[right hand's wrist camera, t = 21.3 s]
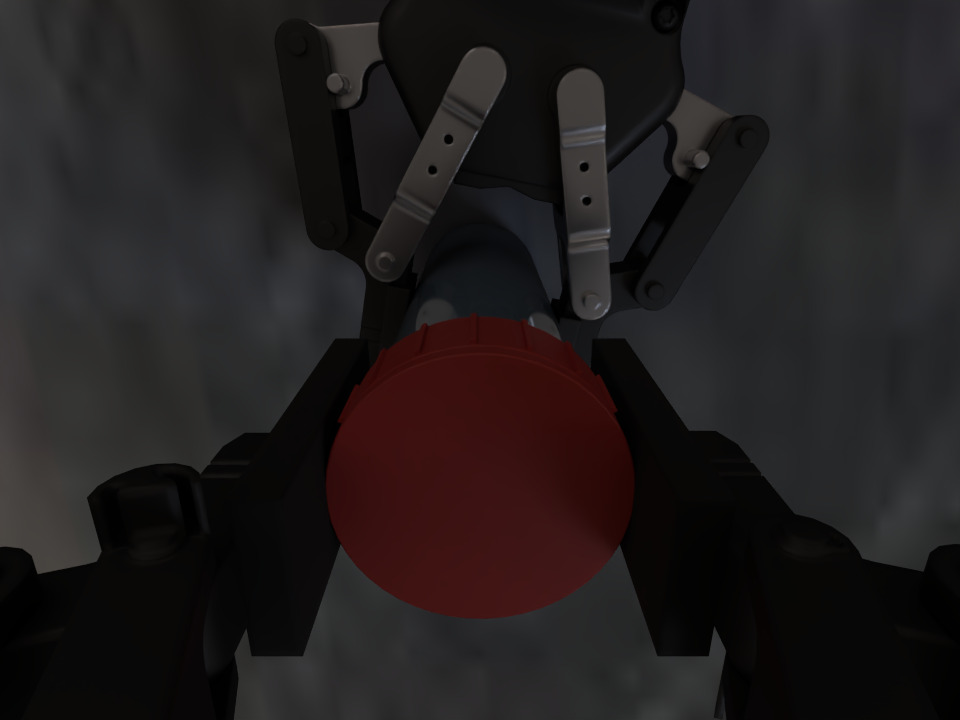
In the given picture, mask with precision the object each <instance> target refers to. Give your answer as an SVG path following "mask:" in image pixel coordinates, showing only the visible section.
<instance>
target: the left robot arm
mask: <svg viewBox="0 0 960 720" xmlns="http://www.w3.org/2000/svg"><path fill="white" fill-rule="evenodd" d="M689 1H690V0H390V2H389V3H388V4H387V6H386V7H385V9H384V11H383V13H382V15H381V18H380V21H379V22H377V23H364V24H352V25H339V26H327V27H317V26H315V25H313V24H311V23H308V22H306V21H304V20H301V19H290V20H287V21H285V22H284V23H282V24H281V25H280V27H279V28H278V30H277V32H276V35H275V49H276V55H277V61H278V67H279V73H280V78H281V84H282V90H283V96H284V102H285V108H286V113H287V119H288V125H289V131H290V137H291V143H292V148H293V154H294V160H295V166H296V172H297V178H298V183H299V189H300V195H301V201H302V207H303V213H304V218H305V224H306V230H307V234H308V237H309V239H310V240H311V242H312V243H313V244H314V245H316V246H317V247H319V248H321V249H323V250H335V251H337V252H339V253H341V254H342V255H344V256H346V257H348V258H349V259H351V260H353V261H354V262H356V263H357V264H358V265H359V266H360V268H361V269H362V271H363V272H364V275H365V278H366V291H365V299H364V307H363V315H362V322H361V330H360V339H368V349H369V363H370V369H371V367H372V366H373V365H374V364H375V362H376V360H377V358H378V356H379V354H380V352H381V350H382V349H383V348H385V349H386V350H388V349H389V348H391V347H392V346H393V344H394V342H395V339H396V337H397V334H398V332H399V329H400V327H401V324H402V322H403V319H404V317H405V315H406V312H407V310H408V307H409V305H410V302H411V300H412V297H413V295H414V292H415V287H416V281H417V273H412V266H413V259H414V252H415V250H416V248H417V247H418V245H419V243H420V241H421V239H422V237H423V235H424V233H425V232H426V230H427V228H428V226H429V224H430V222H431V220H432V218H433V217H434V215H435V213H436V211H437V209H438V207H439V205H440V204H441V202H442V200H443V198H444V196H445V194H446V192H447V190H448V189H449V187H450V185H451V183H452V181H453V180H454V184H459V185H464V186H469V187H474V188H479V189H482V188H495V187H510V188H513V189H515V190H517V191H519V192H520V193H522V194H524V195H526V196H528V197H530V198H532V199H534V200H539V201H544V202H549V203H552V204H553V215H554V223H555V229H556V233H557V241H558V251H559V262H560V273H561V283H562V292H561V296H560V300H558V299H553V298H552V302H551V306H552V309H553V311H554V314H555V316H556V319H557V321H558V324H559V326H560V328H561V331H562V333H563V336H564V338H565V341H569V342H570V343H571V345H572V347H573V350H574V351H575V352H576V353H577V354H578V355H579V356H580V357H581V359H582V360H583V361H584V362H585V363H586V364H587V365H588V366H590V362H591V354H592V340H593V339H597V337H598V333H599V330H600V327H601V325H602V323H603V322H604V320H605V319H606V318H607V317H608V316H610V315H611V314H613V313H615V312H617V311H621V310H627V309H634V308H640V307H643V308H644V309H647V310H652V311H655V310H659V309H662V308H664V307H666V306H667V305H668V304H669V303H670V302H671V301H672V299H673V298H674V296H675V294H676V293H677V291H678V289H679V288H680V286H681V285H682V283H683V281H684V280H685V278H686V276H687V275H688V273H689V272H690V270H691V268H692V267H693V265H694V264H695V262H696V260H697V259H698V257H699V255H700V254H701V252H702V251H703V249H704V247H705V246H706V244H707V242H708V241H709V239H710V238H711V236H712V234H713V233H714V231H715V229H716V228H717V226H718V225H719V223H720V221H721V220H722V218H723V217H724V215H725V213H726V212H727V210H728V208H729V207H730V205H731V204H732V202H733V200H734V199H735V197H736V195H737V194H738V192H739V191H740V189H741V187H742V186H743V184H744V182H745V181H746V179H747V178H748V176H749V174H750V173H751V171H752V170H753V168H754V166H755V165H756V163H757V161H758V160H759V158H760V157H761V155H762V153H763V152H764V150H765V148H766V146H767V144H768V141H769V129H768V126H767V124H766V122H765V121H764V120H763V119H762V118H760V117H758V116H755V115H743V116H732V115H730V114H728V113H727V112H725V111H723V110H721V109H719V108H718V107H716V106H714V105H712V104H711V103H709V102H707V101H705V100H703V99H702V98H700V97H698V96H696V95H695V94H693V93H691V92H689V91H687V90H686V89H684V84H685V75H684V69H683V65H682V60H681V50H680V40H681V31H682V26H683V22H684V18H685V15H686V12H687V8H688V5H689ZM382 64H385V65H386V67H387V69H388V71H389V73H390V75H391V77H392V80H393V82H394V84H395V86H396V88H397V90H398V92H399V94H400V97H401V99H402V101H403V103H404V105H405V107H406V109H407V111H408V114H409V116H410V118H411V120H412V122H413V124H414V126H415V128H416V131H417V133H418V135H419V137H420V139H421V141H422V142H421V144H420V146H419V148H418V150H417V152H416V154H415V156H414V158H413V159H412V161H411V163H410V165H409V167H408V169H407V171H406V173H405V175H404V177H403V179H402V181H401V183H400V185H399V187H398V189H397V191H396V194H395V196H394V199H393V202H392V204H391V206H390V208H389V210H388V212H387V214H386V216H385V218H384V220H383V222H382V221H381V220H379V219H377V218H375V217H374V216H372V215H370V214H369V213H367V212H365V211H364V210H362V205H361V198H360V190H359V183H358V176H357V168H356V161H355V154H354V146H353V139H352V132H351V125H350V117H349V110H352V109H355V108H358V107H359V106H360V105H362V104H363V102H364V101H365V99H366V97H367V92H368V80H369V77H370V74H371V73H372V71H373V70H374V69H375V68H376V67H378V66H379V65H382ZM662 124H663V125H664V127H665V128H666V130H667V133H668V144H667V148H666V150H665V153H664V158H663V162H664V167H665V169H666V170H667V172H668V173H669V174H670V175H672V176H671V178H670V180H669V181H668V183H667V185H666V187H665V188H664V190H663V192H662V194H661V195H660V197H659V199H658V201H657V202H656V204H655V206H654V208H653V209H652V211H651V213H650V215H649V216H648V218H647V220H646V222H645V223H644V225H643V227H642V229H641V230H640V232H639V234H638V236H637V237H636V239H635V241H634V242H633V244H632V246H631V248H630V249H629V251H628V253H627V255H626V256H625V258H624V260H623V261H621V262H614V263H609V249H608V244H609V240H610V234H611V228H610V211H609V195H608V179H607V174H608V173H609V172H610V171H611V170H612V169H613V168H615V167H616V166H617V165H618V164H619V163H620V162H621V161H622V160H623V159H624V158H625V157H627V156H628V155H629V154H630V153H631V152H632V151H633V150H634V149H635V148H636V147H638V146H639V145H640V144H641V143H642V142H643V141H644V140H645V139H646V138H647V137H648V136H650V135H651V134H652V133H653V132H654V131H655V130H656V129H657V128H658V127H659V126H661V125H662Z"/></svg>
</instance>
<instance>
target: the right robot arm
mask: <svg viewBox="0 0 960 720" xmlns="http://www.w3.org/2000/svg"><path fill="white" fill-rule="evenodd" d="M590 369H591V371H592V372H593V373H594V375H595V376H597V375H600V376H601V378H602V380H603V382H604V384H605V386H606V388H607V390H608V392H609V394H610V396H611V398H612V400H613V402H614V404H615V406H616V409H617V412H615V413H614V414H615V416H616V419H617V421H618V423H619V425H620V427H621V429H622V431H623V433H624V435H625V438H626V440H627V443H628V446H629V449H630V452H631V454H632V458H633V464H634V470H635V489H634V499H633V508H632V515H631V518H630V522H629V525H628V528H627V530H626V532H625V534H624V537H623V539H622V541H621V543H620V546H621V549H622V552H623V555H624V558H625V561H626V564H627V567H628V570H629V573H630V576H631V579H632V582H633V585H634V588H635V591H636V594H637V597H638V600H639V603H640V606H641V609H642V611H643V614H644V617H645V620H646V623H647V626H648V629H649V632H650V635H651V638H652V641H653V644H654V647H655V650H656V653H657V656H709V652H710V646H711V640H712V635H713V629H714V626H715V628H716V630H717V632H718V634H719V637H720V639H721V641H722V643H723V645H724V647H725V649H726V655H725V660H724V665H723V670H722V675H721V681H720V686H719V691H718V696H717V701H716V707H715V714H714V718H718V719H722V718H723V713H724V708H725V711H726V720H960V544H952V545H944V546H939V547H937V548H936V549H934V550H933V551H932V552H930V554H929V557H928V560H927V563H926V566H925V569H924V572H922V571H917V570H912V569H907V568H902V567H897V566H892V565H887V564H882V563H877V562H873V561H869V560H865V559H862V557H861V555H860V553H859V551H858V550H857V548H856V547H855V546H854V545H853V543H852V542H851V541H850V540H849V538H847V537H846V536H845V535H843V534H842V533H840V532H839V531H837V530H836V529H835V528H833V527H831V526H829V525H827V524H824V523H822V522H820V521H818V520H815V519H813V518H809V517H805V516H801V515H796V514H794V513H793V511H792V510H791V509H790V508H789V507H788V505H787V504H786V503H785V502H784V500H783V499H782V498H781V497H780V496H779V494H778V493H777V492H776V491H775V489H774V488H773V487H772V486H771V485H770V483H769V482H768V481H767V480H766V478H765V477H764V476H761V472H760V471H759V470H758V469H757V467H756V466H755V465H754V464H753V463H750V459H749V458H748V457H747V455H746V454H745V453H744V452H743V450H742V449H741V448H740V447H739V446H738V444H736V443H735V442H733V441H731V440H730V439H728V438H726V437H725V436H723V435H721V434H720V433H718V432H717V431H689V430H688V429H687V427H686V426H685V424H684V423H683V422H682V420H681V419H680V417H679V416H678V414H677V413H676V412H675V410H674V409H673V407H672V406H671V404H670V403H669V401H668V400H667V399H666V397H665V396H664V394H663V393H662V391H661V390H660V388H659V387H658V386H657V384H656V383H655V381H654V380H653V378H652V377H651V376H650V374H649V373H648V371H647V370H646V368H645V367H644V365H643V364H642V363H641V361H640V360H639V358H638V357H637V355H636V354H635V352H634V351H633V350H632V348H631V347H630V345H629V344H628V342H627V341H626V339H593V340H592V354H591V368H590ZM369 370H370V363H369V349H368V339H335V340H334V341H333V343H332V344H331V346H330V347H329V349H328V350H327V352H326V353H325V354H324V356H323V357H322V359H321V360H320V362H319V363H318V365H317V366H316V367H315V369H314V370H313V372H312V373H311V375H310V376H309V378H308V379H307V380H306V382H305V383H304V385H303V386H302V388H301V389H300V390H299V392H298V393H297V395H296V396H295V398H294V399H293V401H292V402H291V403H290V405H289V406H288V408H287V409H286V411H285V412H284V414H283V415H282V416H281V418H280V419H279V421H278V422H277V424H276V425H275V427H274V428H273V429H272V431H271V432H270V433H244V434H242V435H241V436H239V437H238V438H236V439H234V440H233V441H231V442H229V443H228V444H226V445H225V446H223V447H222V448H221V450H220V451H219V452H218V453H217V455H216V456H215V457H214V458H213V460H212V461H211V464H210V465H208V466H207V467H206V468H205V469H204V471H203V472H202V473H201V474H199V472H197V471H196V470H195V469H193V468H192V467H191V466H186V465H181V464H176V463H171V464H154V465H149V466H144V467H140V468H135V469H132V470H130V471H127V472H124V473H122V474H119V475H116V476H114V477H112V478H111V479H109V480H107V481H106V482H104V483H102V484H101V485H99V486H98V487H97V488H96V489H95V490H94V491H93V492H92V493H91V494H90V495H89V496H88V497H87V499H88V503H89V506H90V510H91V514H92V517H93V521H94V525H95V528H96V532H97V536H98V539H99V543H100V546H101V550H102V552H101V554H100V556H99V558H98V560H97V562H94V563H90V564H86V565H81V566H76V567H71V568H66V569H61V570H56V571H51V572H46V573H42V574H37V571H36V568H35V565H34V562H33V559H32V556H31V555H30V554H29V553H27V552H26V551H25V550H23V549H20V548H12V547H0V720H234V713H235V705H236V696H237V688H238V680H239V678H238V672H237V665H236V660H235V655H234V653H235V651H236V649H237V647H238V645H239V643H240V640H241V638H242V636H243V634H244V632H245V630H246V628H247V633H248V638H249V644H250V649H251V655H252V656H303V654H304V651H305V648H306V645H307V642H308V639H309V636H310V633H311V630H312V627H313V624H314V621H315V619H316V616H317V613H318V610H319V607H320V604H321V601H322V598H323V595H324V592H325V589H326V586H327V583H328V580H329V577H330V574H331V571H332V568H333V565H334V562H335V559H336V556H337V553H338V550H339V547H340V544H341V543H340V541H339V539H338V538H337V536H336V533H335V531H334V528H333V526H332V523H331V521H330V517H329V512H328V504H327V495H326V485H325V477H326V467H327V462H328V458H329V453H330V450H331V447H332V445H333V442H334V440H335V437H336V435H337V432H338V430H339V428H340V426H341V424H340V423H338V422H337V421H338V419H339V417H340V415H341V413H342V411H343V409H344V407H345V405H346V403H347V401H348V399H349V397H350V395H351V393H352V391H353V389H354V387H355V385H356V384H357V385H359V386H360V384H361V383H362V381H363V379H364V377H365V376H366V374H367V372H368V371H369Z"/></svg>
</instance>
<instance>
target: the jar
mask: <svg viewBox="0 0 960 720" xmlns="http://www.w3.org/2000/svg"><path fill="white" fill-rule="evenodd" d="M471 313H477V316H478V317H497V318H504V319H511V320H515V321H518V322H521V320H522V319H525V320H527V321H528V324H529V325H531V326H534V327H536V328H538V329H541V330H543V331H545V332H547V333H549V334H551V335H552V336H554V337H556V338H557V339H559V340H561V341H562V342H563V343H565V342H566V341H565V338H564V336H563V333H562V331H561V328H560V326H559V324H558V321H557V319H556V316H555V314H554V311H553V309H552V306H551V304H550V301H549V299H548V296H547V294H546V292H545V289H544V287H543V284H542V282H541V279H540V277H539V274H538V272H537V269H536V267H535V264H534V262H533V260H532V257H531V255H530V253H529V251H528V249H527V248H526V246H525V245H524V244H523V242H522V241H521V240H520V239H519V238H518V237H517V236H515V235H514V234H513V233H511V232H510V231H508V230H506V229H504V228H502V227H499V226H496V225H493V224H486V223H474V224H468V225H464V226H461V227H458V228H456V229H454V230H452V231H451V232H449V233H447V234H446V235H445V236H444V237H442V238H441V240H440V241H439V242H438V243H437V244H436V245H435V247H434V248H433V250H432V251H431V253H430V255H429V258H428V260H427V263H426V265H425V268H424V270H423V272H422V275H421V277H420V280H419V282H418V285H417V287H416V290H415V292H414V295H413V297H412V300H411V302H410V305H409V307H408V310H407V312H406V315H405V317H404V319H403V322H402V324H401V327H400V329H399V332H398V334H397V337H396V339H395V342H394V344H393V345H395V344H396V343H397V342H399V341H400V340H402V339H403V338H404V337H406V336H408V335H410V334H412V333H414V332H416V331H418V330H419V329H420V328H421V325H422V324H424V323H427V325H428V326H430V325H432V324H435V323H438V322H442V321H446V320H451V319H455V318H464V317H471Z"/></svg>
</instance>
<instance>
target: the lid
mask: <svg viewBox="0 0 960 720" xmlns="http://www.w3.org/2000/svg"><path fill="white" fill-rule="evenodd" d="M615 412H617V409H616V406H615V404H614V402H613V400H612V398H611V396H610V394H609V392H608V390H607V388H606V386H605V384H604V382H603V380H602V378H601V376H600V375H597V376H595V375H594V373H593V372H592V371H591V369H590V368H589V366H588V365H587V364H586V363H585V362H584V361H583V360H582V359H581V357H580V356H579V355H578V354H577V353H576V352H575V351H574V350H573V347H572V345H571V343H570V342H569V341H566V342H565V343H563V342H562V341H561V340H559V339H557V338H556V337H554V336H552V335H551V334H549V333H547V332H545V331H543V330H541V329H538V328H536V327H534V326H531V325H529V324H528V321H527V320H525V319H522V320H521V322H518V321H515V320H511V319H504V318H497V317H478V316H477V313H471V317H464V318H455V319H451V320H446V321H442V322H438V323H435V324H432V325H430V326H428V325H427V323H424V324H422V325H421V328H420V329H419V330H418V331H416V332H414V333H412V334H410V335H408V336H406V337H404V338H403V339H402V340H400V341H399V342H397V343H396V344H395V345H393V346H392V347H391V348H389V349H388V350H386V349H385V348H383V349H382V350H381V352H380V354H379V356H378V358H377V360H376V362H375V364H374V365H373V366H372V367H371V369H370V370H369V371H368V372H367V374H366V376H365V377H364V379H363V381H362V383H361V384H360V386H359V385H357V384H356V385H355V387H354V389H353V391H352V393H351V395H350V397H349V399H348V401H347V403H346V405H345V407H344V409H343V411H342V413H341V415H340V417H339V419H338V421H337V422H338V423H340V424H341V426H340V428H339V430H338V432H337V435H336V437H335V440H334V442H333V445H332V447H331V450H330V453H329V458H328V462H327V467H326V477H325V485H326V495H327V504H328V512H329V517H330V521H331V523H332V526H333V528H334V531H335V533H336V536H337V538H338V539H339V541H340V543H341V545H342V546H343V548H344V550H345V552H346V553H347V554H348V556H349V557H350V558H351V560H352V561H353V562H354V563H355V565H356V566H357V567H358V568H359V569H360V570H361V571H362V572H363V573H364V574H365V575H366V576H367V577H368V578H369V579H370V580H372V581H373V582H374V583H375V584H377V585H378V586H379V587H381V588H382V589H383V590H385V591H387V592H388V593H390V594H391V595H393V596H395V597H396V598H398V599H400V600H402V601H404V602H407V603H409V604H411V605H413V606H415V607H418V608H421V609H424V610H427V611H430V612H434V613H438V614H443V615H447V616H453V617H461V618H479V619H488V618H500V617H508V616H513V615H518V614H523V613H527V612H530V611H533V610H537V609H540V608H542V607H545V606H547V605H550V604H552V603H554V602H557V601H559V600H560V599H562V598H564V597H566V596H568V595H569V594H571V593H573V592H574V591H576V590H577V589H578V588H580V587H581V586H583V585H584V584H585V583H587V582H588V581H589V580H590V579H591V578H592V577H593V576H595V575H596V574H597V573H598V572H599V571H600V570H601V569H602V568H603V566H604V565H605V564H606V563H607V562H608V560H609V559H610V558H611V557H612V555H613V554H614V552H615V551H616V549H617V548H618V546H619V544H620V543H621V541H622V539H623V537H624V534H625V532H626V530H627V528H628V525H629V522H630V518H631V515H632V508H633V499H634V489H635V470H634V464H633V458H632V454H631V452H630V449H629V446H628V443H627V440H626V438H625V435H624V433H623V431H622V429H621V427H620V425H619V423H618V421H617V419H616V416H615V414H614V413H615Z"/></svg>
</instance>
